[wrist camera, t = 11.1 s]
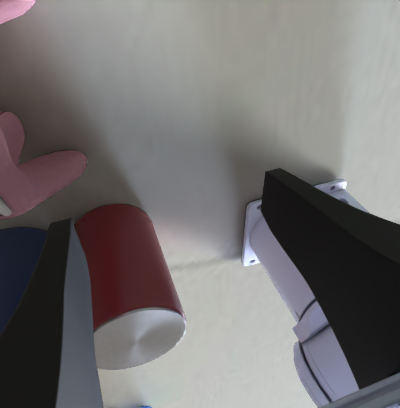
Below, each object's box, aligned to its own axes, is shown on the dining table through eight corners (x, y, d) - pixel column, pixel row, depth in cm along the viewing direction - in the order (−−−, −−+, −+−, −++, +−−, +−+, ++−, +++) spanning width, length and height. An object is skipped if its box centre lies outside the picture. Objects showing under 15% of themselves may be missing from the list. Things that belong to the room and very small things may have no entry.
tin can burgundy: (147, 195, 24) (185, 295, 18) (156, 250, 28) (189, 348, 22) (59, 215, 23) (66, 332, 17) (81, 271, 27) (94, 382, 21)
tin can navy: (53, 217, 23) (58, 335, 17) (76, 272, 27) (87, 384, 21) (-49, 241, 21) (-84, 380, 15) (-8, 295, 25) (-22, 423, 19)
